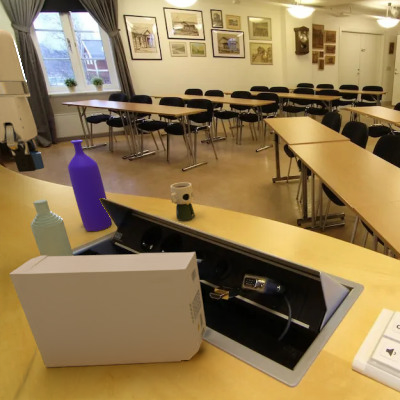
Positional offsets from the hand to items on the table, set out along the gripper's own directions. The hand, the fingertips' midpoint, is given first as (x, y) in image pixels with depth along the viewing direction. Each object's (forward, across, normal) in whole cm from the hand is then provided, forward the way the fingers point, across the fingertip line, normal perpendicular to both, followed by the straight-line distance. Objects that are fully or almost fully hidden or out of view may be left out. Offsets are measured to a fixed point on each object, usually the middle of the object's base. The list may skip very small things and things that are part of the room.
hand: (30, 168), depth 78 cm
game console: (+28, +41, +20) cm, 54 cm away
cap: (0, 0, +1) cm, 1 cm away
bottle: (+28, -25, +6) cm, 38 cm away
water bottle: (+28, -1, 0) cm, 28 cm away
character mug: (+28, -20, +34) cm, 48 cm away
